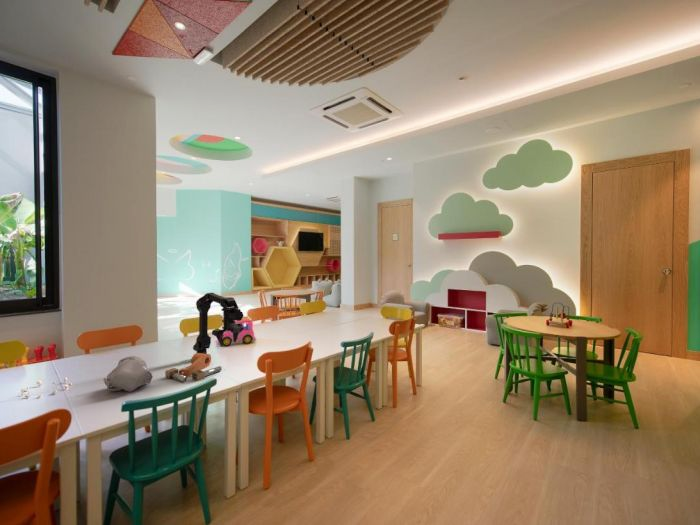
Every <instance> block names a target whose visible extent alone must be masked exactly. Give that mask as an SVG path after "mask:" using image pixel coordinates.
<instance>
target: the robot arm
mask: <svg viewBox="0 0 700 525" xmlns="http://www.w3.org/2000/svg"><path fill="white" fill-rule="evenodd" d="M212 303H216V304H219V306H220V307H222V308H221V311H222V312H223V314H222V315H223V319H222V320H221V323H222V325H223V326H222V327H221V328H216V329H215V328H214V329H212V331H211V335H212V336H214V337H215V338H217V341H218V344H219V345H220V346H221V347H223V345H224V342H223V340H224V336H225V335H224V333H227V332H231V333H232V338H233V339H232V340H233V342H234V343H236V342H237V339H238V337H239V335H240V334H241V332H243V331H244V329H245V328H244V325H243V324H242V322H240V321H242V320H243V318H244V312H242V311H241V309H240V308H239V305H238V303H237V301H236V299H235V297H231V296H228V297H227V296H226V297H225V296H222V295H219V294H217V293H214V292H207V293H205V294H204V295H203V296H200V297H199V298H198V299H197V300H196V302H195V305H196V310H197V311H198V312H199V313H198V314H199V318H198V319H199V322H198V325H199V326H198V327H199V328H198V329H199V330H198V335H197V337H196V341H195V343H194V345H193V346H192V350H193V351H194V352H195V353H203V354H208V351H207V349H210V346H211V343H212V337H211V336H209V334H208V331H209V330H208V326H209V324H208V323H209V321H208V319H209V318H208V317H209V316H208V315H209V314H208V313H209V310H210V309H211V305H212ZM236 322H237V323H236Z"/></svg>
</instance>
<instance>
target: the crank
mask: <svg viewBox="0 0 700 525" xmlns="http://www.w3.org/2000/svg"><path fill="white" fill-rule="evenodd" d="M211 362H212V355H211V354H209V353H207V354H203V353H196V352H195V353H194V354H193V355H192V357H191V360H190V365H189V366H188V367H186V368H184V367H183V368H181V369H178V374H181V375H183V376H186V377H192V372H194V371H197V370H201V371H203V370H204V369H206V368H208V367H210V365H211Z"/></svg>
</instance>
